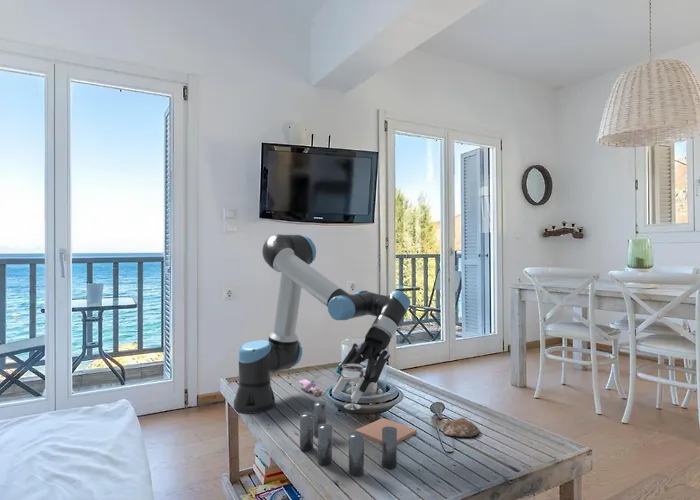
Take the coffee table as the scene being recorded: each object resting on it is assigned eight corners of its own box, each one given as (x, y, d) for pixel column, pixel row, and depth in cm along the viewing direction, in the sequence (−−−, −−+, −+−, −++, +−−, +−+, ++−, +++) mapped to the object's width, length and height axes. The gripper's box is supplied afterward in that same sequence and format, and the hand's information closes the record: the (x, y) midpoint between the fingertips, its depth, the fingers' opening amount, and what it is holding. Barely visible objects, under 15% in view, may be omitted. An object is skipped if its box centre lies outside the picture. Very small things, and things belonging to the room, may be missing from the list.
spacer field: (283, 446, 132) (283, 412, 132) (320, 431, 143) (320, 400, 143) (363, 487, 110) (363, 447, 110) (399, 465, 121) (399, 429, 121)
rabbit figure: (326, 398, 178) (305, 383, 189) (328, 384, 177) (307, 370, 189) (314, 401, 174) (293, 386, 185) (315, 387, 173) (294, 372, 185)
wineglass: (348, 412, 126) (349, 370, 126) (336, 405, 132) (337, 364, 131) (368, 408, 129) (369, 367, 129) (355, 400, 135) (356, 361, 135)
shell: (480, 427, 149) (480, 416, 149) (478, 443, 137) (478, 431, 137) (445, 422, 152) (445, 411, 152) (441, 437, 140) (441, 426, 140)
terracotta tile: (355, 433, 142) (355, 429, 142) (382, 420, 152) (382, 417, 152) (389, 447, 132) (389, 443, 132) (416, 432, 142) (416, 429, 142)
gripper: (411, 345, 135) (375, 413, 123) (363, 335, 148) (327, 395, 137) (400, 330, 131) (363, 398, 119) (352, 322, 144) (314, 382, 133)
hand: (344, 397), depth 128 cm, fingers closed on wineglass, 7 cm apart
